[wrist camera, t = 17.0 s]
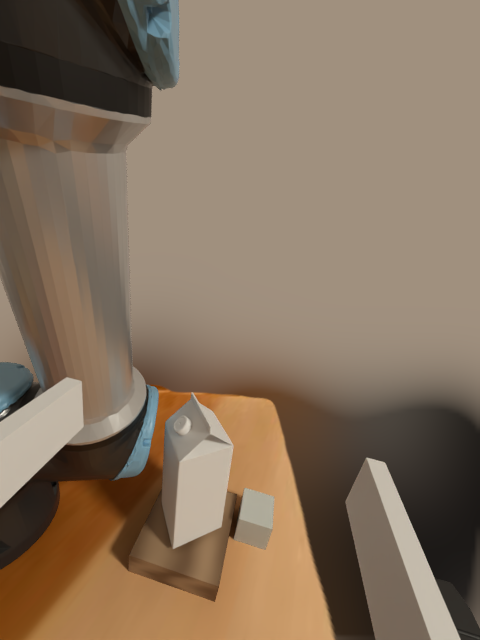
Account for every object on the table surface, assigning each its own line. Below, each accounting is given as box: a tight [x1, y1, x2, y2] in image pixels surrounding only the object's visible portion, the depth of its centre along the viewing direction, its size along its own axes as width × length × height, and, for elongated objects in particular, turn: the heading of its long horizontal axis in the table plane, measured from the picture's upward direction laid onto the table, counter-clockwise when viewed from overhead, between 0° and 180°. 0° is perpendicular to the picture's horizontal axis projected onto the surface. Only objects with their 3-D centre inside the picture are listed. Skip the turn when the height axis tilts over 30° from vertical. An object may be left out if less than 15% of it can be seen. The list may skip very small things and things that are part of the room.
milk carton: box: [162, 392, 233, 549], centre depth 36 cm, size 7×7×19 cm
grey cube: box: [234, 488, 274, 550], centre depth 41 cm, size 5×5×5 cm
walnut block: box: [128, 490, 237, 602], centre depth 39 cm, size 12×12×4 cm
